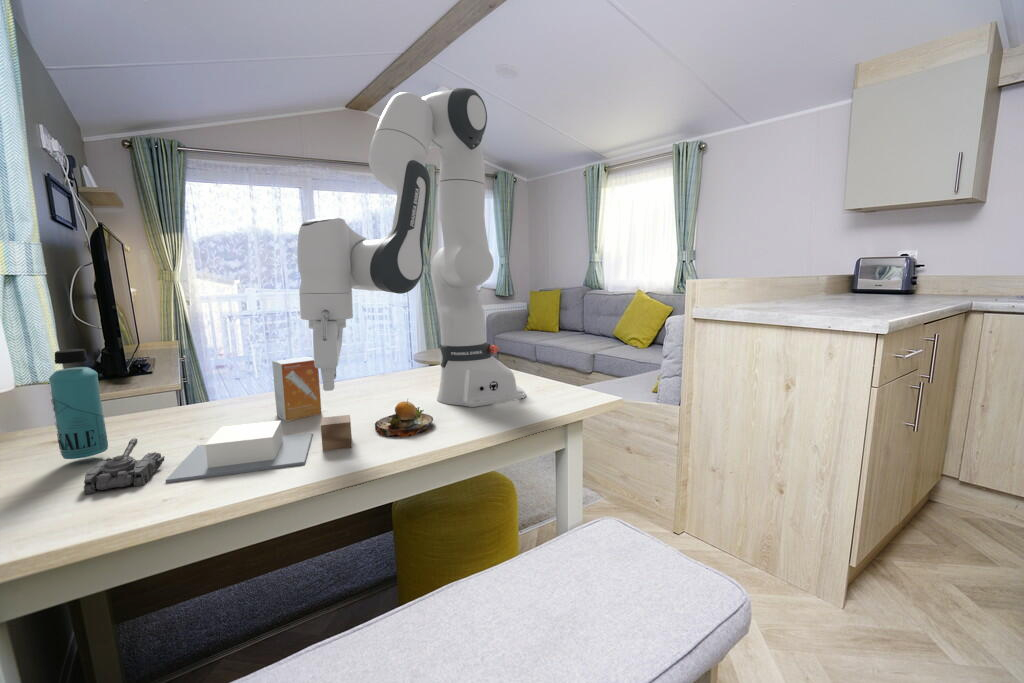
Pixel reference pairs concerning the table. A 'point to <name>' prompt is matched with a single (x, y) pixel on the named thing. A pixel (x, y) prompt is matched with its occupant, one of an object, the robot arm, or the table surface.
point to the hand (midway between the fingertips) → (330, 384)
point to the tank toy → (121, 470)
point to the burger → (404, 421)
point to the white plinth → (244, 443)
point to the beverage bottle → (77, 407)
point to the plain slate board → (288, 455)
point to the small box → (296, 388)
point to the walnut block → (336, 433)
